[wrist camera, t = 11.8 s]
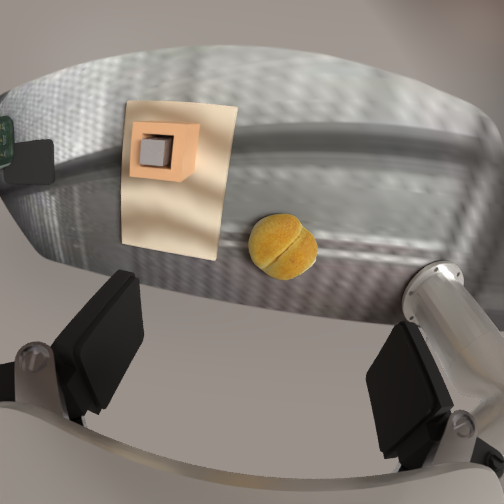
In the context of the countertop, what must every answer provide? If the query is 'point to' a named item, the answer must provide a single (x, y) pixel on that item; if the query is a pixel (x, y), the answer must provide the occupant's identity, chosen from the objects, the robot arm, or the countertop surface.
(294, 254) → the bread roll
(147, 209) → the base board
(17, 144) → the phone
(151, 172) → the square hollow tube
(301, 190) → the countertop surface
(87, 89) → the countertop surface
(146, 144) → the square shaft
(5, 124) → the coffee jar
